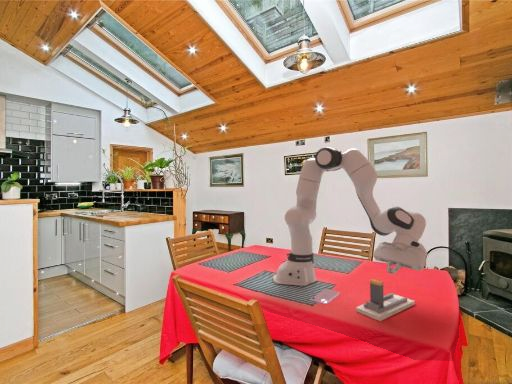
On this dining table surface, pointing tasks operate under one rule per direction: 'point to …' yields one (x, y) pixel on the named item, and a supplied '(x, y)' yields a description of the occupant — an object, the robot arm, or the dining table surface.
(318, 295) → the mobile phone
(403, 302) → the switch plate
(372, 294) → the switch tab
